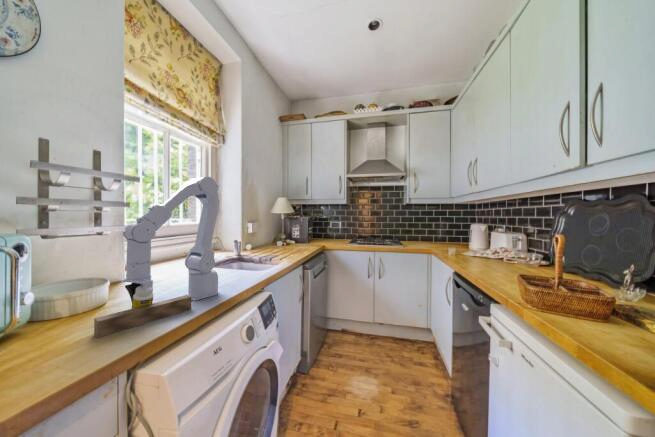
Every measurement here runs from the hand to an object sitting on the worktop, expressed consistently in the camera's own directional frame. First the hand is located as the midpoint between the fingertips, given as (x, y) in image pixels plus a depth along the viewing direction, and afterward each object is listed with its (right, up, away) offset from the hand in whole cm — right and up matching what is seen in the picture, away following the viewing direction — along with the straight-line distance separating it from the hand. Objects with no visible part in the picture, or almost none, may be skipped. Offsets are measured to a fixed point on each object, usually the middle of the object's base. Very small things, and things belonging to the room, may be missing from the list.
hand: (138, 307), depth 71 cm
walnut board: (+6, -2, -4) cm, 8 cm away
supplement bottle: (+2, -2, -1) cm, 3 cm away
